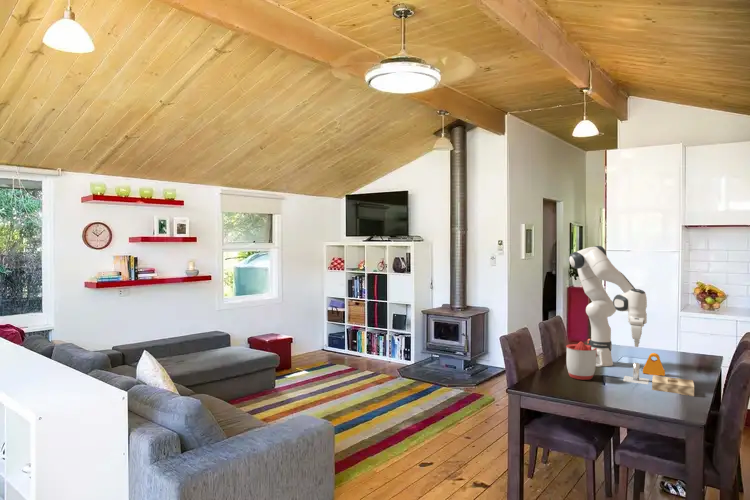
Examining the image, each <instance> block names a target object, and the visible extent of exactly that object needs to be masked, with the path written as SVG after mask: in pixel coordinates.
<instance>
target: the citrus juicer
mask: <svg viewBox="0 0 750 500" xmlns="http://www.w3.org/2000/svg"><path fill="white" fill-rule="evenodd" d="M565 347H566V358H565V359H566V360H565V361H566V369H567V372H568V375H569V377H570V378H572V379H576V380H578V381H579V380H581V381H583V380H584V381H585V380H587V381H588V380H592V379H593V377H594V376H595V371H596V367H597V366H596V357H597V356H598V357H599V355H598V354H597V348H595V349H593V350H591V346H590V345H587V344H586V343H584V342H583V341H579V342H578V343H569V344H566V346H565Z"/></svg>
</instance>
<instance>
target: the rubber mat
mask: <svg viewBox="0 0 750 500" xmlns="http://www.w3.org/2000/svg"><path fill="white" fill-rule="evenodd" d="M622 382H626V383H627V382H628V383H635V384H641V385H649V382H650V378H643V377H639V381H635V380H633V376H629V375H628V376H627V375H624V377H623V379H622Z"/></svg>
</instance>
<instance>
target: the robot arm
mask: <svg viewBox="0 0 750 500" xmlns="http://www.w3.org/2000/svg"><path fill="white" fill-rule="evenodd" d="M568 260H569V264H570V266H571V267H572V268H573V269H575V270H577V274H578V277H579V278H578V279H579V280H580V284H581V286H582V289H583V291H584V294H585V295H586V296H587V297H588V298H589V300H590V301H591V302H590V303H588V304H587V305H586V307H585V313H586V315H587V316H588V319H589V323H590V338H588V339H587V344H586V345H590V346H591V350H593V349H595V348H597V354H598V355H599V357H598V356H597V357H596V367H599V368H600V367H612V366H614V363H613V358H612V349H613V348H612V346H613V345H612V329H611V327H610V324H609V320H608V317H612V316H613V315H614V314H615V313H616V311H619V312H627V316H628V317H627V322H628V323H629V325H630V330H631V337H632V340H633V341H634V347H635V348H638V347H639V346H640V345H639V344H640V342H641V341H640V340H641V337H642V333H643V332H642V331H643V327H644V326H645V324H647V321H648V320H647V319H648V318H647V317H648V315H647V307H648V304H647V303H648V302H647V301H648V300H647V299H648V298H647V294H646V292H645V291H644V290H642V289H639V288H636V287H634V285H633V284H632V283H631V281H630V280H629V279H628V278H627V277H626V275H624V273H622V272H621V271H620V270H619V269H617V268H616V267H615V265H613V263H612V262H611V260H610V258H608V256H607V252H606V250H605V248H604V247H603V246H602V245H594V246H590V247H585V248H583V249H580V250H578V251H574V252H572V253H570V254H569V256H568ZM602 281H604V282H608V283H612V284H614V285H616V286H618V287H619V289H621V290H622V291H623V293H619V294H616V295H615V296H614V297H613V299H611V297H610V295H609V294H608V293H607V292H606V290H605V288H604V285H603V284H602Z"/></svg>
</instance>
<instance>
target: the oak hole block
mask: <svg viewBox="0 0 750 500" xmlns="http://www.w3.org/2000/svg"><path fill="white" fill-rule="evenodd" d="M651 380H652V381H651V382H652V383H651V391H657V392H665V393H672V394H679V395H682V396H688V395H689V397H694V396H695V383H694V380H693V379H688V378H687V379H685V378H678V377H677V378H676V377H668V376H662V375H659V376H657V375H652V379H651Z"/></svg>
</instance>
